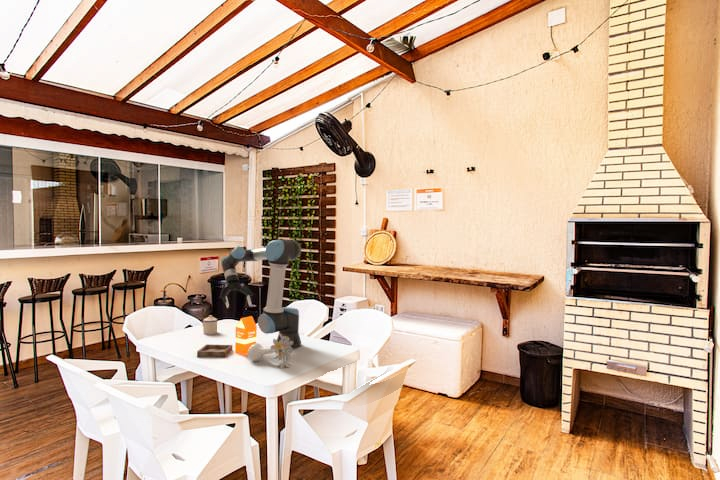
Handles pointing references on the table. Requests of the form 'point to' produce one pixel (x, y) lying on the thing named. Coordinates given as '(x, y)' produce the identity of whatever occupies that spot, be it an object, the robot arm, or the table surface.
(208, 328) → the teacup with lid
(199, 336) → the table surface
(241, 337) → the orange juice
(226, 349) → the walnut tray
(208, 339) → the table surface
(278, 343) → the flower vase
